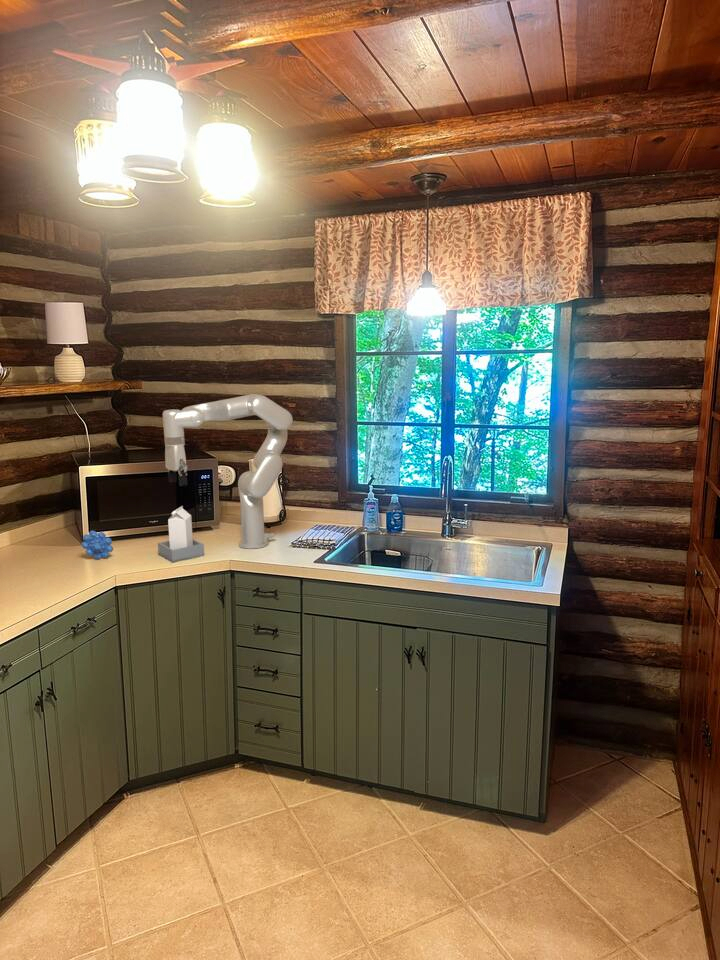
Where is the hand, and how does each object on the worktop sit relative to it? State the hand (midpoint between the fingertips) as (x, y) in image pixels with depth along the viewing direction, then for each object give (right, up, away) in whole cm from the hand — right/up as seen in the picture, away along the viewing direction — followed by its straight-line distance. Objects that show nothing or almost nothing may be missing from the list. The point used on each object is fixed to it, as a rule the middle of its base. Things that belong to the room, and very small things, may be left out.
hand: (178, 483), depth 275 cm
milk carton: (0, -28, +5) cm, 29 cm away
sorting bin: (0, -29, +5) cm, 30 cm away
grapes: (-32, -31, +1) cm, 44 cm away
